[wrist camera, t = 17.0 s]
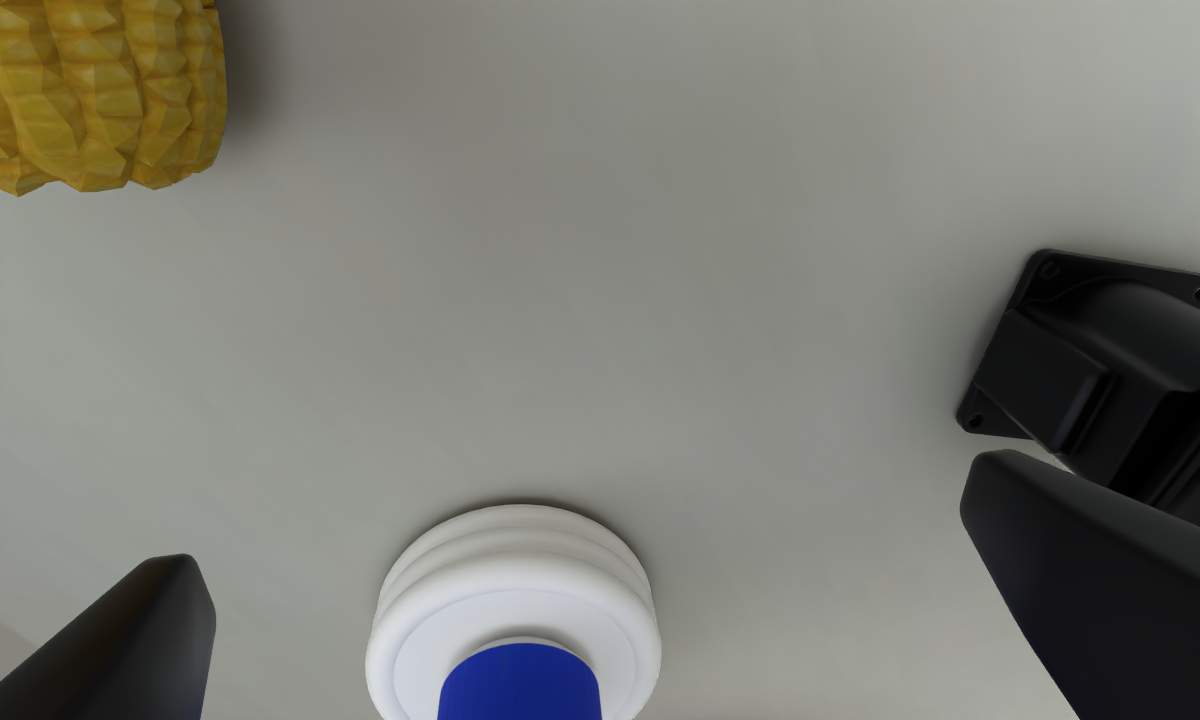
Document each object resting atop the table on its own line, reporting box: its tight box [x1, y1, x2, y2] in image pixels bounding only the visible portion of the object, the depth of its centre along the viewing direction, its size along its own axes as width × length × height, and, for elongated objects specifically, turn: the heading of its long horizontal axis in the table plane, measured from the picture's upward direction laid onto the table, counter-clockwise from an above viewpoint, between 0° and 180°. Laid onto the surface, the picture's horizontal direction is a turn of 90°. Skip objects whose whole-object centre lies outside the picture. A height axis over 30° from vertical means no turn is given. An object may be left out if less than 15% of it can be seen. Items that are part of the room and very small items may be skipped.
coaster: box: [365, 504, 662, 720], centre depth 26 cm, size 10×10×4 cm
